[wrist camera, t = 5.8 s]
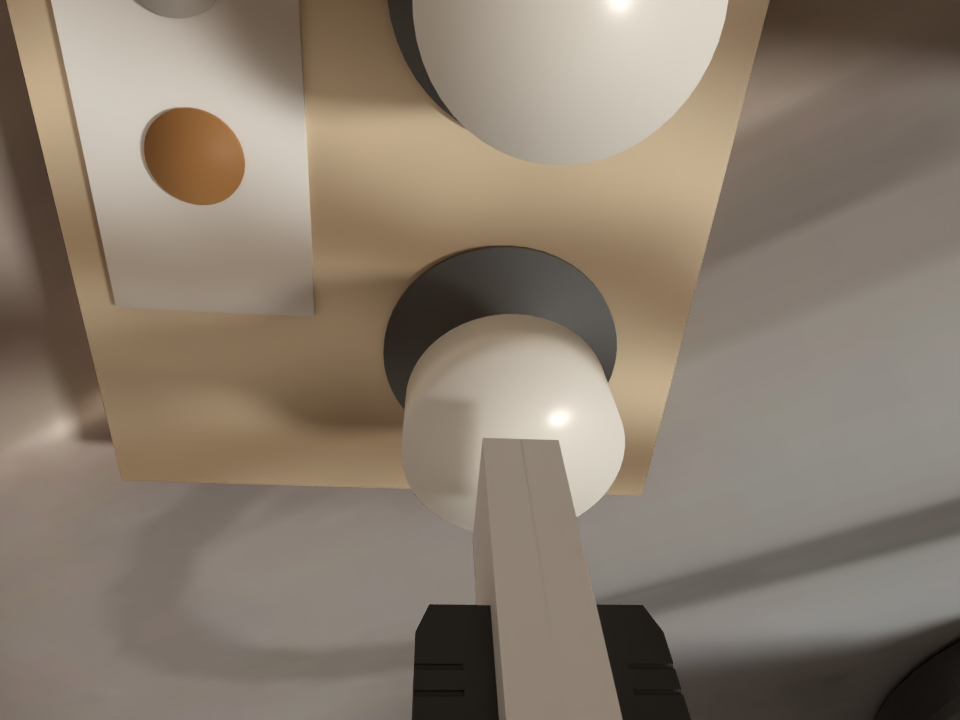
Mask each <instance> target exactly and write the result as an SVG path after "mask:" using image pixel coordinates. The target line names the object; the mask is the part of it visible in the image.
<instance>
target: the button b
mask: <svg viewBox="0 0 960 720" xmlns="http://www.w3.org/2000/svg"><path fill="white" fill-rule="evenodd" d="M412 1H413V20H414V27H415V33H416V40H417V44H418V47H419V51H420V54H421V58H422V61H423V64H424V66H425V69H426V71H427V74H428V76H429V78H430V81H431V83H432V84H433V86H434V88H435V90H436V91H437V93H438V95H439V97H440V98H441V100H442V101H443V103H444V104H445V105H446V107H447V108H448V109H449V111H450V112H451V113H452V115H453V116H454V117H455V118H456V119H457V120H458V121H459V122H460V123H461V124H462V125H463V126H464V127H465V128H466V129H467V130H468V131H469V132H471V133H472V134H473V135H475V136H476V137H477V138H478V139H480V140H481V141H482V142H484V143H486V144H487V145H489V146H491V147H492V148H494V149H496V150H498V151H500V152H502V153H504V154H507V155H509V156H512V157H514V158H517V159H521V160H524V161H528V162H532V163H538V164H546V165H574V164H582V163H589V162H592V161H596V160H600V159H604V158H607V157H610V156H612V155H615V154H617V153H620V152H622V151H624V150H626V149H628V148H630V147H632V146H633V145H635V144H637V143H639V142H641V141H642V140H644V139H645V138H646V137H648V136H649V135H651V134H652V133H653V132H655V131H656V130H658V129H659V128H660V127H661V126H662V125H663V124H664V123H665V122H666V121H668V120H669V119H670V118H671V117H672V116H673V115H674V114H675V113H676V112H677V111H678V109H679V108H680V107H681V106H682V105H683V104H684V103H685V101H686V100H687V99H688V98H689V96H690V95H691V93H692V92H693V90H694V89H695V88H696V86H697V85H698V83H699V82H700V80H701V78H702V76H703V75H704V73H705V71H706V69H707V67H708V65H709V64H710V62H711V59H712V57H713V54H714V52H715V49H716V47H717V45H718V42H719V39H720V35H721V32H722V29H723V25H724V22H725V17H726V11H727V6H728V0H412Z"/></svg>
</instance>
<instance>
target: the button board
mask: <svg viewBox="0 0 960 720" xmlns="http://www.w3.org/2000/svg"><path fill="white" fill-rule="evenodd" d="M769 1H770V0H728V6H727V11H726V17H725V22H724V25H723V29H722V32H721V35H720V39H719V42H718V45H717V47H716V49H715V52H714V54H713V57H712V59H711V62H710V64H709V65H708V67H707V69H706V71H705V73H704V75H703V76H702V78H701V80H700V82H699V83H698V85H697V86H696V88H695V89H694V90H693V92H692V93H691V95H690V96H689V98H688V99H687V100H686V101H685V103H684V104H683V105H682V106H681V107H680V108H679V109H678V111H677V112H676V113H675V114H674V115H673V116H672V117H671V118H670V119H669V120H668V121H666V122H665V123H664V124H663V125H662V126H661V127H660V128H659V129H658V130H656V131H655V132H653V133H652V134H651V135H649V136H648V137H646V138H645V139H644V140H642V141H641V142H639V143H637V144H635V145H633V146H632V147H630V148H628V149H626V150H624V151H622V152H620V153H617V154H615V155H612V156H610V157H607V158H604V159H600V160H596V161H592V162H589V163H582V164H574V165H546V164H538V163H532V162H528V161H524V160H521V159H517V158H514V157H512V156H509V155H507V154H504V153H502V152H500V151H498V150H496V149H494V148H492V147H491V146H489V145H487V144H486V143H484V142H482V141H481V140H480V139H478V138H477V137H476V136H475V135H473V134H472V133H471V132H469V131H468V130H467V129H466V128H465V127H464V126H463V125H462V124H461V123H460V122H459V121H458V120H457V119H456V118H455V117H454V116H453V115H452V113H451V112H450V111H449V109H448V108H447V107H446V105H445V104H444V103H443V101H442V100H441V98H440V97H439V95H438V93H437V91H436V90H435V88H434V86H433V84H432V83H431V81H430V78H429V76H428V74H427V71H426V69H425V66H424V64H423V61H422V58H421V54H420V51H419V47H418V44H417V40H416V33H415V27H414V20H413V1H412V0H6V2H7V6H8V10H9V15H10V19H11V23H12V27H13V31H14V35H15V39H16V44H17V48H18V52H19V56H20V60H21V64H22V68H23V73H24V77H25V81H26V85H27V89H28V93H29V97H30V102H31V106H32V110H33V114H34V118H35V122H36V126H37V131H38V135H39V139H40V143H41V147H42V151H43V155H44V160H45V164H46V168H47V172H48V176H49V180H50V184H51V189H52V193H53V197H54V201H55V205H56V209H57V213H58V218H59V222H60V226H61V230H62V234H63V238H64V242H65V247H66V251H67V255H68V259H69V263H70V267H71V271H72V276H73V280H74V284H75V288H76V292H77V296H78V300H79V305H80V309H81V313H82V317H83V321H84V325H85V329H86V334H87V338H88V342H89V346H90V350H91V354H92V358H93V363H94V367H95V371H96V375H97V379H98V383H99V387H100V392H101V396H102V400H103V404H104V408H105V412H106V416H107V420H108V425H109V429H110V433H111V437H112V441H113V445H114V449H115V454H116V458H117V462H118V466H119V470H120V474H121V478H122V480H127V481H161V482H196V483H231V484H265V485H300V486H335V487H369V488H404V489H411V487H410V486H409V484H408V481H407V479H406V476H405V474H404V470H403V465H402V456H401V447H402V435H403V423H404V411H405V399H406V389H407V385H408V382H409V378H410V375H411V373H412V371H413V369H414V367H415V365H416V363H417V362H418V360H419V359H420V357H421V356H422V355H423V353H424V352H425V351H426V350H427V349H428V348H429V346H431V345H432V344H433V343H434V342H435V341H436V340H437V339H438V338H440V337H441V336H443V335H444V334H446V333H447V332H448V331H450V330H452V329H454V328H456V327H458V326H460V325H462V324H464V323H467V322H469V321H472V320H475V319H479V318H483V317H487V316H492V315H500V314H522V315H531V316H536V317H540V318H544V319H547V320H550V321H553V322H555V323H558V324H560V325H562V326H564V327H566V328H567V329H569V330H571V331H572V332H574V333H575V334H576V335H578V336H579V337H580V338H581V339H582V340H583V341H584V342H586V343H587V344H588V345H589V347H590V348H591V349H592V351H593V352H594V353H595V354H596V356H597V358H598V360H599V362H600V363H601V365H602V368H603V371H604V374H605V376H606V379H607V382H608V385H609V387H610V390H611V393H612V396H613V399H614V401H615V404H616V407H617V410H618V412H619V415H620V418H621V421H622V423H623V428H624V434H625V450H624V457H623V461H622V464H621V467H620V470H619V472H618V474H617V476H616V478H615V480H614V482H613V483H612V485H611V486H610V488H609V489H608V491H607V492H606V493H605V494H612V495H642V493H643V489H644V485H645V481H646V477H647V474H648V470H649V466H650V462H651V458H652V454H653V450H654V447H655V443H656V439H657V435H658V431H659V427H660V423H661V419H662V416H663V412H664V408H665V404H666V400H667V396H668V392H669V388H670V385H671V381H672V377H673V373H674V369H675V365H676V361H677V357H678V354H679V350H680V346H681V342H682V338H683V334H684V330H685V326H686V323H687V319H688V315H689V311H690V307H691V303H692V299H693V295H694V292H695V288H696V284H697V280H698V276H699V272H700V268H701V265H702V261H703V257H704V253H705V249H706V245H707V241H708V237H709V234H710V230H711V226H712V222H713V218H714V214H715V210H716V206H717V203H718V199H719V195H720V191H721V187H722V183H723V179H724V175H725V172H726V168H727V164H728V160H729V156H730V152H731V148H732V144H733V141H734V137H735V133H736V129H737V125H738V121H739V117H740V114H741V110H742V106H743V102H744V98H745V94H746V90H747V86H748V83H749V79H750V75H751V71H752V67H753V63H754V59H755V55H756V52H757V48H758V44H759V40H760V36H761V32H762V28H763V24H764V21H765V17H766V13H767V9H768V5H769Z"/></svg>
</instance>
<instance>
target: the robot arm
mask: <svg viewBox="0 0 960 720" xmlns="http://www.w3.org/2000/svg"><path fill="white" fill-rule="evenodd" d="M473 556H474V574H475V593H476V605H432V604H429V606H428V608H427V610H426V612H425V614H424V616H423V618H422V620H421V622H420V624H419V626H418V628H417V630H416V634H415V656H414V678H413V704H412V720H691V718H690V715H689V712H688V709H687V706H686V703H685V699H684V696H683V695H682V694H681V687H680V683H679V680H678V677H677V674H676V671H675V669H673V661H672V658H671V655H670V652H669V648H668V645H667V642H666V639H665V636H664V633H663V631H662V630H661V628H660V627H659V626H658V624H657V623H656V622H655V621H654V619H653V618H652V617H651V615H650V614H649V613H648V611H647V610H646V609H645V608H644V606H643V605H596V601H595V597H594V592H593V588H592V584H591V579H590V575H589V571H588V566H587V562H586V557H585V553H584V549H583V544H582V540H581V536H580V531H579V527H578V523H577V518H576V514H575V509H574V505H573V501H572V496H571V492H570V488H569V483H568V479H567V475H566V470H565V466H564V462H563V457H562V453H561V448H560V444H559V440H541V439H508V438H483V439H482V449H481V459H480V469H479V479H478V489H477V499H476V509H475V519H474V529H473ZM876 720H960V642H958V643H956V644H955V645H953V646H951V647H949V648H948V649H946V650H944V651H943V652H941V653H940V654H938V655H936V656H935V657H933V658H932V659H931V660H929V661H928V662H926V663H925V664H924V665H922V666H921V667H920V668H918V669H917V670H916V671H915V672H914V673H912V674H911V675H910V676H909V677H908V678H907V679H906V680H905V681H903V682H902V683H901V684H900V685H899V686H898V688H897V689H896V690H895V691H894V692H893V693H892V694H891V695H890V697H889V698H888V699H887V701H886V702H885V703H884V705H883V706H882V708H881V710H880V712H879V713H878V715H877V717H876Z"/></svg>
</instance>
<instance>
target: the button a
mask: <svg viewBox="0 0 960 720" xmlns="http://www.w3.org/2000/svg"><path fill="white" fill-rule="evenodd" d="M483 438H508V439H541V440H559V444H560V448H561V453H562V457H563V462H564V466H565V470H566V475H567V479H568V483H569V488H570V492H571V496H572V501H573V505H574V509H575V514H576V517H578V516H579V515H581V514H582V513H584V512H585V511H587V510H588V509H589V508H591V507H592V506H593V505H594V504H595V503H596V502H597V501H599V500H600V499H601V497H602V496H603V495H604V494H605V493H606V492H607V491H608V489H609V488H610V486H611V485H612V483H613V482H614V480H615V478H616V476H617V474H618V472H619V470H620V467H621V464H622V461H623V457H624V450H625V434H624V428H623V423H622V421H621V418H620V415H619V412H618V410H617V407H616V404H615V401H614V399H613V396H612V393H611V390H610V387H609V385H608V382H607V379H606V376H605V374H604V371H603V368H602V365H601V363H600V362H599V360H598V358H597V356H596V354H595V353H594V352H593V351H592V349H591V348H590V347H589V345H588V344H587V343H586V342H584V341H583V340H582V339H581V338H580V337H579V336H578V335H576V334H575V333H574V332H572V331H571V330H569V329H567V328H566V327H564V326H562V325H560V324H558V323H555V322H553V321H550V320H547V319H544V318H540V317H536V316H531V315H522V314H500V315H492V316H487V317H483V318H479V319H475V320H472V321H469V322H467V323H464V324H462V325H460V326H458V327H456V328H454V329H452V330H450V331H448V332H447V333H446V334H444V335H443V336H441V337H440V338H438V339H437V340H436V341H435V342H434V343H433V344H432V345H431V346H429V348H428V349H427V350H426V351H425V352H424V353H423V355H422V356H421V357H420V359H419V360H418V362H417V363H416V365H415V367H414V369H413V371H412V373H411V375H410V378H409V382H408V385H407V389H406V399H405V411H404V423H403V435H402V447H401V456H402V465H403V470H404V474H405V476H406V479H407V481H408V484H409V486H410V487H411V489H412V491H413V492H414V494H415V495H416V496H417V498H418V499H419V500H420V501H421V502H422V504H424V505H425V506H426V507H427V508H428V509H429V510H430V511H431V512H433V513H434V514H436V515H437V516H438V517H440V518H441V519H443V520H445V521H447V522H449V523H451V524H452V525H455V526H457V527H460V528H463V529H465V530H469V531H473V529H474V519H475V509H476V499H477V489H478V479H479V469H480V459H481V449H482V439H483Z"/></svg>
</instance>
